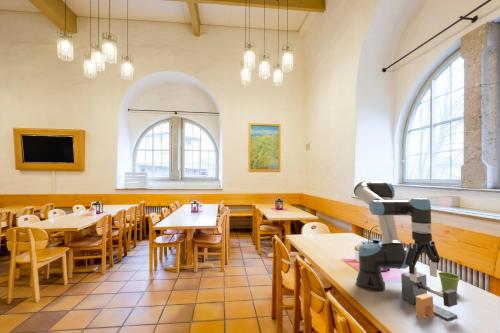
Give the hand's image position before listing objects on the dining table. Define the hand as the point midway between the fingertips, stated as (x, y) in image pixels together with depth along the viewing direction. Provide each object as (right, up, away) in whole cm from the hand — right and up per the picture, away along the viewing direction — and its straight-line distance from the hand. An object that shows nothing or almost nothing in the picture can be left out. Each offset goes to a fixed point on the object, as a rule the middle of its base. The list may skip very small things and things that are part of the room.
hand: (423, 278), depth 111 cm
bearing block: (+7, -17, +6) cm, 20 cm away
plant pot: (+31, -18, +23) cm, 42 cm away
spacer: (0, -17, -1) cm, 17 cm away
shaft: (+8, -11, +4) cm, 14 cm away
